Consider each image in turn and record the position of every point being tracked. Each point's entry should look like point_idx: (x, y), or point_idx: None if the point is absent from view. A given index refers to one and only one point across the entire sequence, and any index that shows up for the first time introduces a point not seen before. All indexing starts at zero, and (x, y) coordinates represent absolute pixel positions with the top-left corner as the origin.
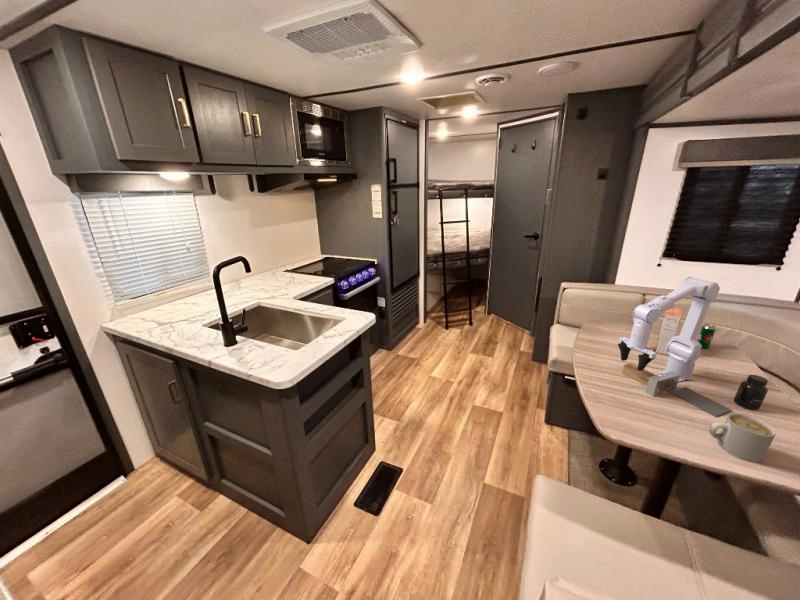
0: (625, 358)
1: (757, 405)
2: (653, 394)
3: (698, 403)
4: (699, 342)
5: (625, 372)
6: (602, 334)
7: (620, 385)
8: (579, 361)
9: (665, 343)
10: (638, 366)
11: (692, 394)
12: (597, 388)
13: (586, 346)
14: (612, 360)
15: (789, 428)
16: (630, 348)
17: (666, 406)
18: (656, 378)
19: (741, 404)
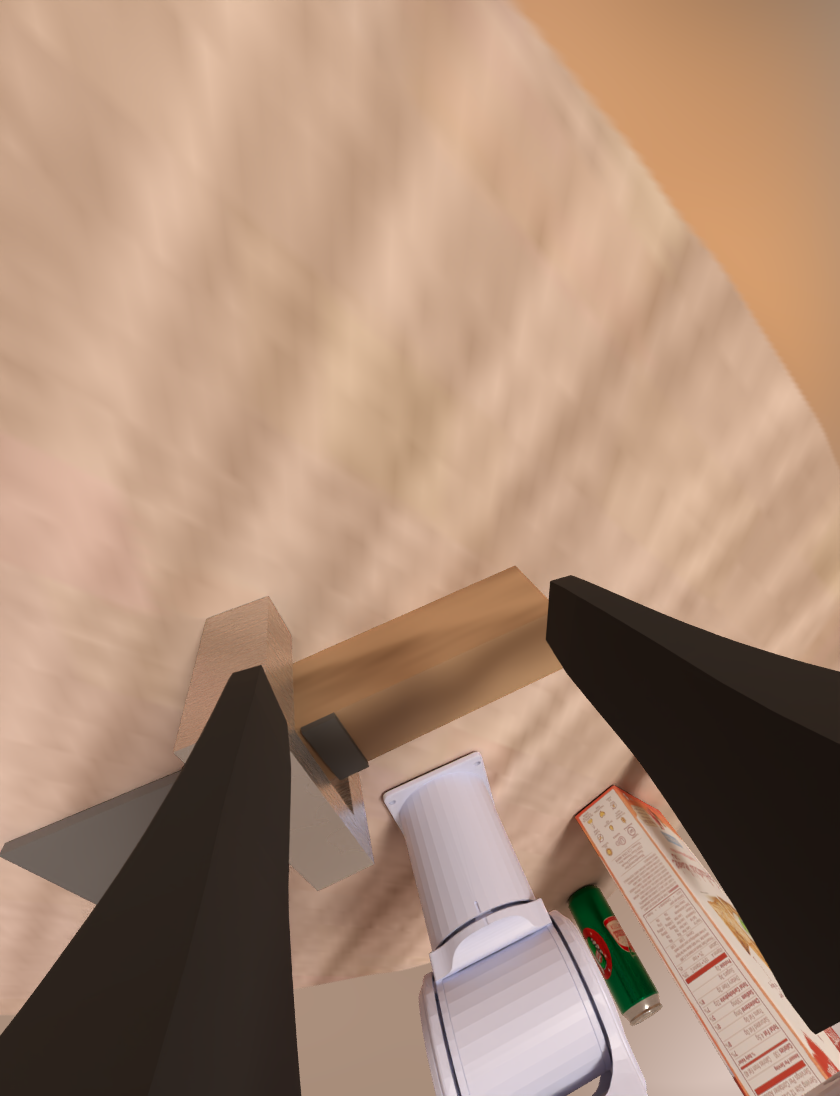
0: (568, 641)
1: None
2: (205, 632)
3: (143, 818)
4: (597, 909)
5: (504, 586)
6: (812, 655)
7: (362, 454)
8: (746, 318)
9: (635, 864)
10: (227, 729)
11: None
12: (303, 94)
13: (812, 515)
14: (644, 585)
15: (14, 1008)
16: (726, 867)
17: (56, 647)
18: None
19: None
